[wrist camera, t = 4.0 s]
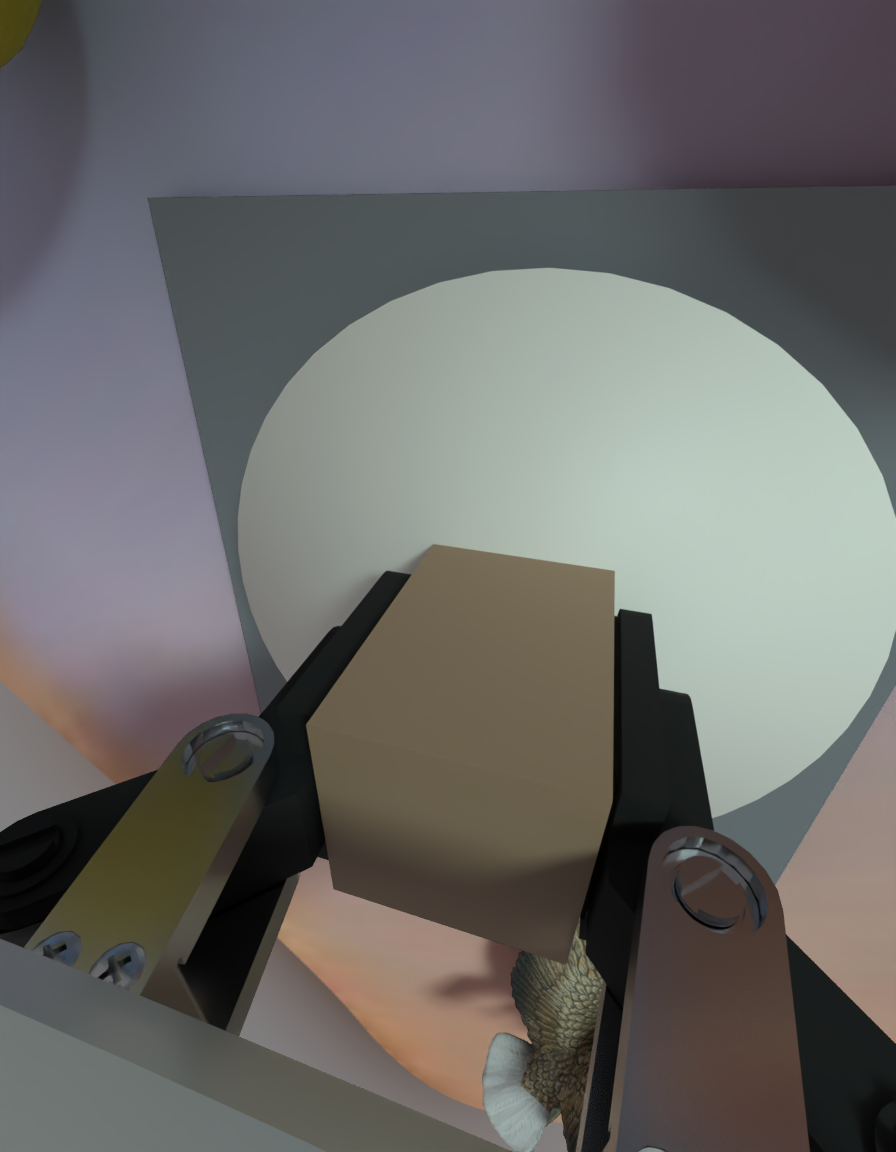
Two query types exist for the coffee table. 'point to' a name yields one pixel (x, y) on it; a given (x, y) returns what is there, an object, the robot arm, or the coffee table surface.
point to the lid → (555, 574)
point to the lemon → (15, 26)
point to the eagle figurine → (544, 1049)
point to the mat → (528, 241)
